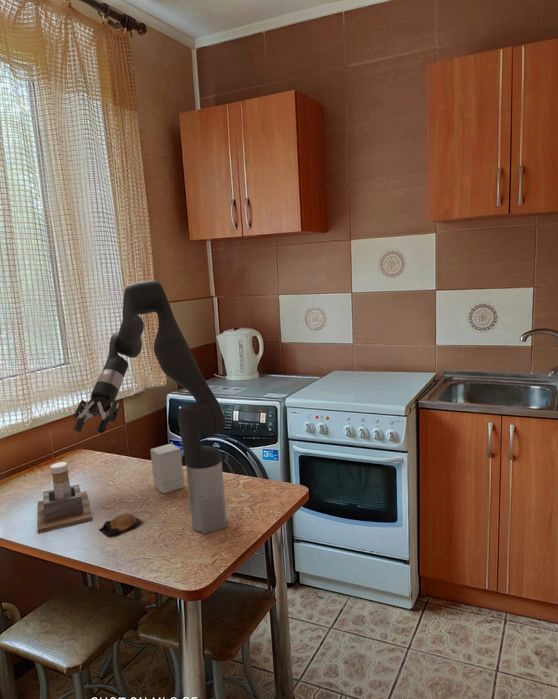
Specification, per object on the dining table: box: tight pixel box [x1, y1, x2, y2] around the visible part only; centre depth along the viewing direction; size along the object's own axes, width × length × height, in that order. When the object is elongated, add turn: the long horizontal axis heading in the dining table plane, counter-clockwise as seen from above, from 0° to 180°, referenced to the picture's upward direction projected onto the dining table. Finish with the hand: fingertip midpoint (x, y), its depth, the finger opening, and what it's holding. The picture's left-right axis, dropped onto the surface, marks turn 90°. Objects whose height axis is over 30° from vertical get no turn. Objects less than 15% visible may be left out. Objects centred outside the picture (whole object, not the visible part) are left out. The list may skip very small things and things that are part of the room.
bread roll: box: [98, 513, 146, 538], centre depth 148 cm, size 11×8×4 cm
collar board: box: [37, 484, 94, 534], centre depth 159 cm, size 20×14×6 cm
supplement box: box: [150, 443, 185, 494], centre depth 172 cm, size 7×7×13 cm
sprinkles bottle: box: [49, 461, 71, 500], centre depth 159 cm, size 5×5×14 cm
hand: (88, 432), depth 167 cm, fingers open, 8 cm apart
